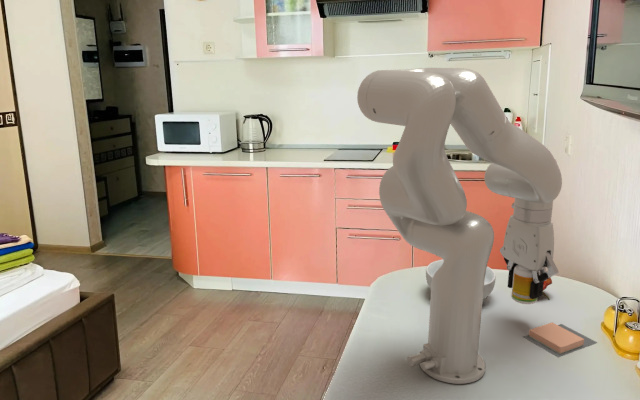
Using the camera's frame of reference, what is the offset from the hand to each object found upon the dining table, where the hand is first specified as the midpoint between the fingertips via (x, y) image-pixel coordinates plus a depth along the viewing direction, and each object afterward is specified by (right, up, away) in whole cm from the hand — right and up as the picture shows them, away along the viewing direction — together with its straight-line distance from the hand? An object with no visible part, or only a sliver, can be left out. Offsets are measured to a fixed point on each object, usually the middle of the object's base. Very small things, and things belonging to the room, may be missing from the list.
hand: (524, 291), depth 117 cm
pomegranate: (+9, -4, +17) cm, 19 cm away
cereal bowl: (-10, -4, +17) cm, 20 cm away
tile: (+8, -8, -3) cm, 12 cm away
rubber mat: (+6, -10, -4) cm, 12 cm away
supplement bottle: (0, -2, +1) cm, 2 cm away
